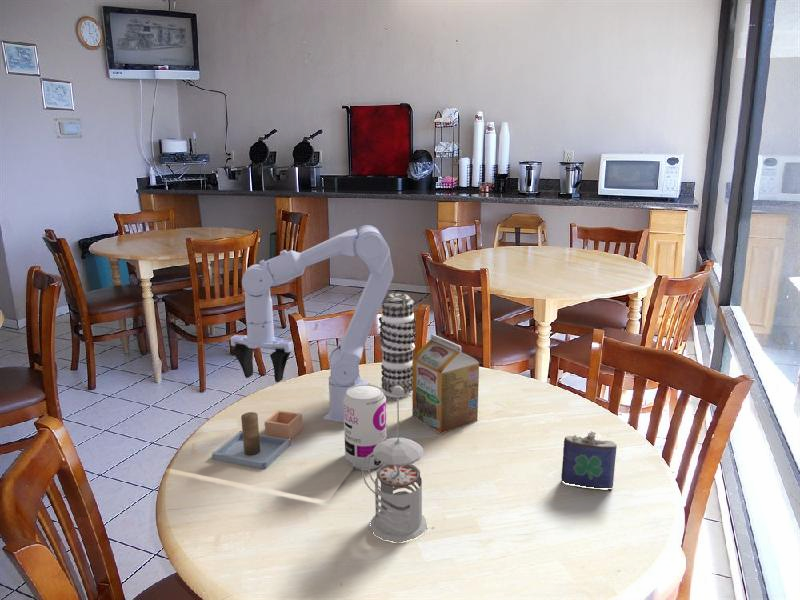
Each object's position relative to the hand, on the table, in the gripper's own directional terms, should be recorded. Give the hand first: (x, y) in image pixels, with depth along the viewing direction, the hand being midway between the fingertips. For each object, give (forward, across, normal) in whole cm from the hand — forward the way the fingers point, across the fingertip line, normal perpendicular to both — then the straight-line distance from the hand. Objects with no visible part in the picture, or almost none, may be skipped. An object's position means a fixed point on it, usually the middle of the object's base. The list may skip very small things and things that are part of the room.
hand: (264, 378), depth 136 cm
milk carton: (+11, +38, +14) cm, 42 cm away
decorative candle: (+11, +23, +25) cm, 36 cm away
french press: (+11, +40, -26) cm, 49 cm away
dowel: (+10, +5, -14) cm, 18 cm away
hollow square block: (+10, +7, -4) cm, 13 cm away
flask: (+11, +70, -4) cm, 71 cm away
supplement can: (+11, +28, -9) cm, 31 cm away
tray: (+10, +5, -14) cm, 18 cm away
